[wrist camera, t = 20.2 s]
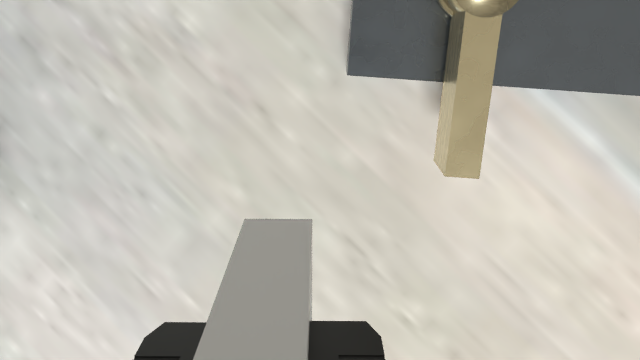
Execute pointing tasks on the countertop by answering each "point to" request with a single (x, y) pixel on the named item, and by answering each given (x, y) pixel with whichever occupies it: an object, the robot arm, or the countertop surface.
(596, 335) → the countertop surface
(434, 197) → the countertop surface
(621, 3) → the tribrach plate
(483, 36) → the knob
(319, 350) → the robot arm
